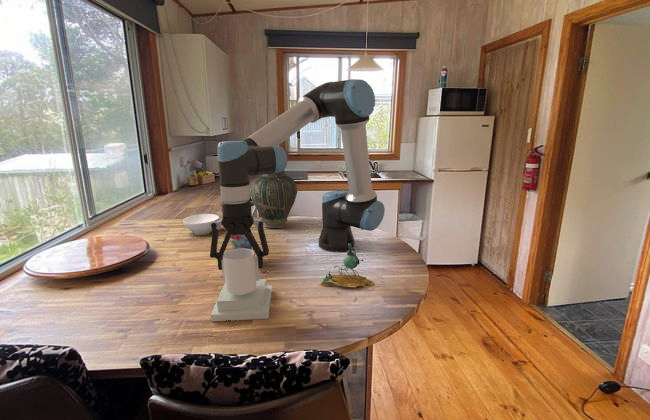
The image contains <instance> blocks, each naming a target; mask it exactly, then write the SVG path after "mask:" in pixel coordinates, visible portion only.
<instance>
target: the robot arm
mask: <svg viewBox="0 0 650 420" xmlns="http://www.w3.org/2000/svg"><path fill="white" fill-rule="evenodd" d="M375 96H376V95H375V93H374V89H373V88H372V86H371V85H370V84H369V83H368V82H367V81H365V80H364V79H355V78H350V79H345V80H338V81H329V82H325V83H323V84H320V85H318V86H317V87H315V88H313V89H312V90H310V91H308V92H306V93H305V94H304V95H303V96H300V97H299V98H298V100H297V103H296V104H294V105H293V106H292V107H290V108H289V109H287V110H286V111H285V112H283V113H282V114H280V115H278V116H277V117H275V118H274V119H272V120H271V121H269V122H268V123H267V124H265V125H264V126H262V127H261V128H259V129H257V130H256V131H255V132H253V133H252V134H250V135H249V136H247V137H246V138H244V139H243V140H224V141H220V142H218V144H217V163H218V164H217V165H218V175H219V188H220V201H222V202H221V212H222V219H221V220H219V221H213V223H212V224H211V227H212V231H211V233H212V234H211V242H210V249H209V251H210V252H209V253H210V254H209V257H210V258H212V259H213V258H214V259H216V260H217V268H218V270H219V271H222V281H223V282H222V283H225V273H224V263H223V254H224V253H225V252H226V249H227V247H228V245H229V242H230V237H231V235H238V234H239V235H245V237H246V238H247V239H248V241H249V243H250V244H251V246H252V250H253V251H254V254H255V269H256V281H259V279H261V278H260V277H261V274H260V273H261V270H260V269H263V267H264V257H268V256H269V252H270V249H269V244H268V241H267V236H266V234H265V229H264V220H263V219H262V218H261V219H260V220H259V219H254V218H253V213H252V202H251V200H250V199H252V198H251V185H250V177H254V176H260V175H264V174H272V173H273V174H275V173H278V172H282V171H283V170H284V171H285V169H286V168H287V164H288V155H287V152H286V151H285V149H284V148H283V147H282V146H280V145H281V144H283V142H285V141H286V140H288V139H289V138H290V137H292V136H293V135H295V134H297V132H298V131H300V130H301V129H303V128H304V127H306V126H307V125H308V124H309V123H311V124H314V123H317V122H318V121H319V120H321V119H324V118H332V117H333V118H334V119H335V120H334V121H335V125H336V126H337V127H338V128H339V129H340V131H341V132H340V133H341V141H342V148H343V155H344V164H345V172H346V181H347V187H348V190H346V189H345V190H342V189H341V190H332V191H328V192H325V193H323V194H322V201H321V210H322V211H321V212H322V213H321V215H322V216H321V217H322V229H321V232H320V235H319V238H318V247H319V248H320V249H322V250H324V251H328V252H346V251H349V247H348V243H351V246H352V249H353V248H354V247H355V238H354V235H353V232H352V228H351V227H354V228H357V229H360V230H362V231H368V232H369V231H370V232H371V231H374V230H376V229H377V228H378V227H379V226H380V225H381V223H382V221H383V220H384V217H385V212H386V210H385V209H386V207H385V205H384V203H383V202H382V201H380V200H378V196H377V192H376V191H375V190H373V186H372V177H371V175H372V174H371V166H370V157H369V146H368V137H367V127H366V126H367V124H368V123H369V121H370V115H372V113H373V112H374V110H375V107H376V97H375ZM253 225H255V228H256V229H257V233H258V236H259V240H260V244H261V247H262V249H261V247H260V245H259V243H258V242H257V240H256V238H255V235H254V236H253V234H252V233H253V232H252V230H251V227H252V226H253ZM221 227H223V228H225V230H226V233H225V236H224V239H223V241H222V244H221V247H220V249H219V251H217V249H218V243H219V242H218V241H219V234H220V229H221Z"/></svg>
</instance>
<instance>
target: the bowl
mask: <svg viewBox="0 0 650 420" xmlns="http://www.w3.org/2000/svg"><path fill="white" fill-rule="evenodd" d="M213 221H220V216H219V215H217V214H215V213H214V214H213V213H199V214H193V215H190V216H189V215H188V216H187V217H184V218H183V220H182V223H183V226H185V227H186V228H187V229H188V230H189V231H191V232H192V233H193V234H194V235H195V236H205V235H209V234H211V233H212V232H213V231H212V227H211V224H212V223H213Z"/></svg>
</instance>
